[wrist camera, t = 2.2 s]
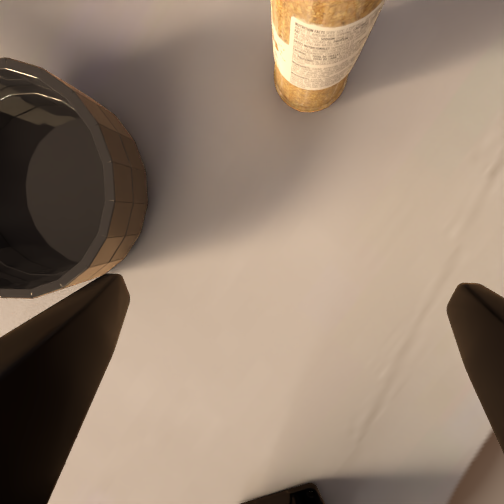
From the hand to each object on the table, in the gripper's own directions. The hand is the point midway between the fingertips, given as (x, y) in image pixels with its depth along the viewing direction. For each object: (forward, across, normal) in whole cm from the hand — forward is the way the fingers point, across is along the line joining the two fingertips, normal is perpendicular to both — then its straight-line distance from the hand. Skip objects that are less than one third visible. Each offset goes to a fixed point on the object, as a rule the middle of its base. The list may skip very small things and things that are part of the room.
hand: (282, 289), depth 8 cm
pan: (+12, +15, +3) cm, 20 cm away
